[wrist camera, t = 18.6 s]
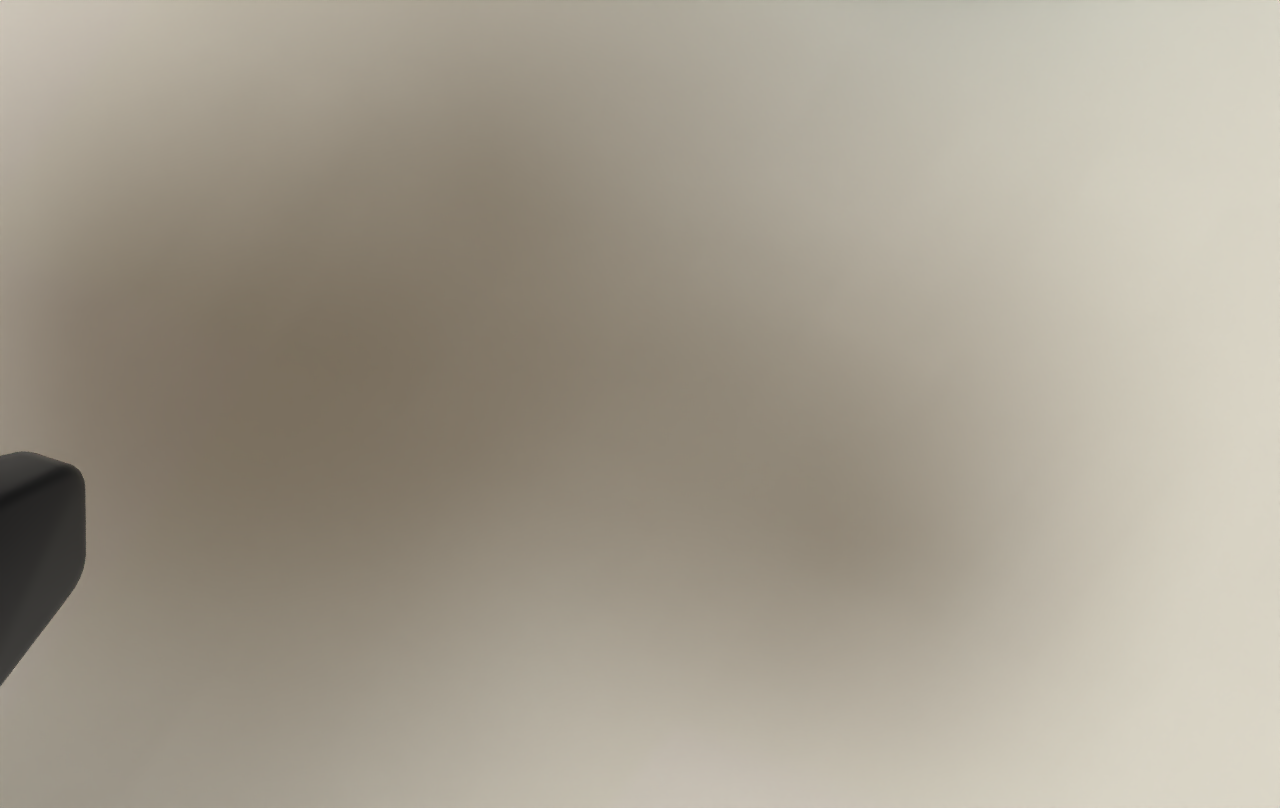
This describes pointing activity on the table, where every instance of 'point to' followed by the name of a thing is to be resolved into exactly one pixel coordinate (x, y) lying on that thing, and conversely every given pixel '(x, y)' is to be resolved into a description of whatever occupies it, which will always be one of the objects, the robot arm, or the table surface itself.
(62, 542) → the robot arm
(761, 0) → the table surface
